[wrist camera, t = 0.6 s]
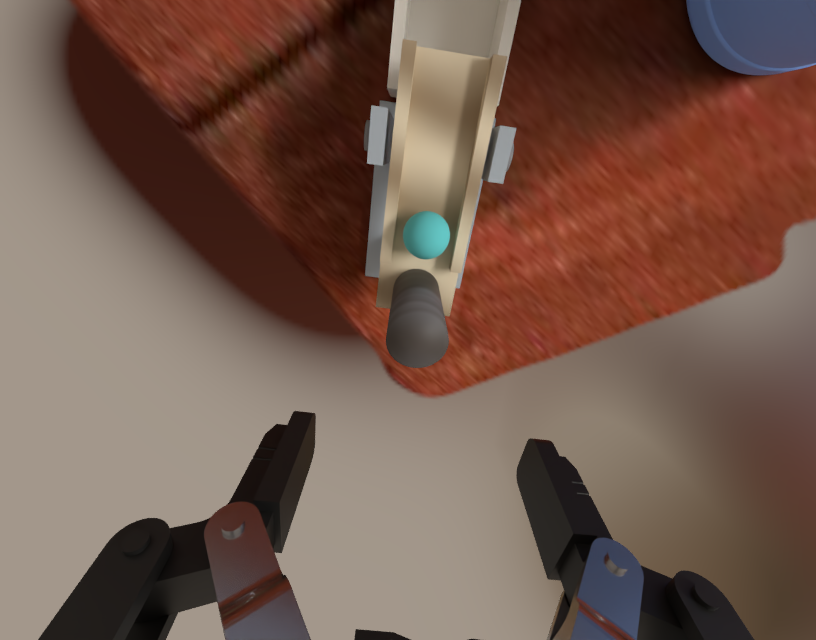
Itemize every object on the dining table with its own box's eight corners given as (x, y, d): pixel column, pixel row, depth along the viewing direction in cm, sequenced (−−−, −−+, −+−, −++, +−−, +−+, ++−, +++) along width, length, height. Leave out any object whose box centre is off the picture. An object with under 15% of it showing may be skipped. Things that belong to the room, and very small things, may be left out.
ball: (406, 204, 24) (405, 211, 21) (451, 211, 24) (456, 219, 21) (400, 249, 25) (399, 261, 23) (443, 255, 26) (447, 268, 23)
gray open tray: (406, -69, 24) (405, -114, 20) (519, -49, 24) (540, -89, 20) (390, 97, 28) (387, 87, 24) (486, 112, 28) (498, 105, 24)
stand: (379, 101, 28) (366, 80, 20) (495, 119, 29) (528, 106, 20) (365, 273, 35) (350, 311, 27) (459, 286, 35) (473, 327, 27)
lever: (402, 48, 21) (394, -17, 13) (500, 65, 21) (554, 11, 13) (376, 300, 29) (361, 361, 20) (449, 310, 29) (463, 373, 21)
